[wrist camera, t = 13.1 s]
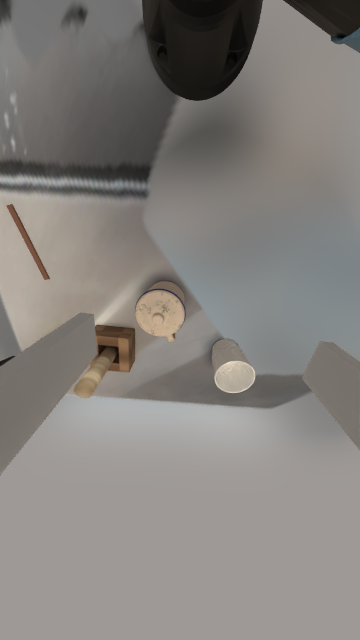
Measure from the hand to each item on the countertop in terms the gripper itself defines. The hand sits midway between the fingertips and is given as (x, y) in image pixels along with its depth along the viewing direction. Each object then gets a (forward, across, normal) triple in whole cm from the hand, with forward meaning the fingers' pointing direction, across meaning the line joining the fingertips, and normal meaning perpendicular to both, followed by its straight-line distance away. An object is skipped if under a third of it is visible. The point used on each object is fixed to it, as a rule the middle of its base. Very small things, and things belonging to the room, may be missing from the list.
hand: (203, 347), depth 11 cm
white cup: (+29, +10, -18) cm, 36 cm away
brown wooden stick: (+29, -34, +1) cm, 44 cm away
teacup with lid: (+29, -5, -8) cm, 31 cm away
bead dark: (+29, -16, -20) cm, 39 cm away
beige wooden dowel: (+29, -16, -20) cm, 38 cm away
